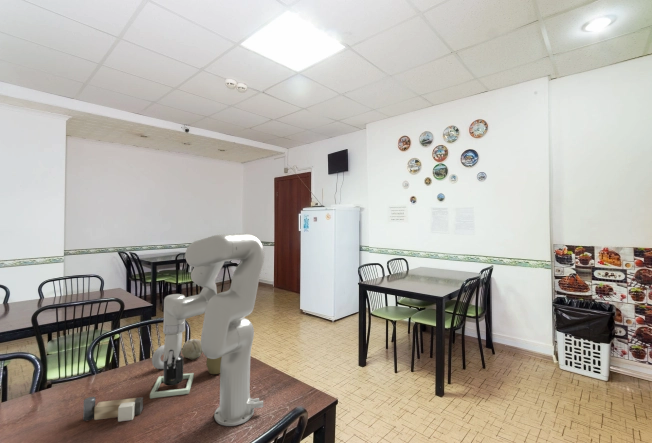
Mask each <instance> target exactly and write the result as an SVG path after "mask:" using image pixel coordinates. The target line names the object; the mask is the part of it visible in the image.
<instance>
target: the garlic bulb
mask: <svg viewBox="0 0 652 443" xmlns="http://www.w3.org/2000/svg"><path fill="white" fill-rule="evenodd" d="M202 354H203V351H202V348H201V339H199V338H198V339H197V338H194V339H193V338H190V339H189V340H186V341H185V342H184V343H183V344H182V350H181V356H182V357H183V359H184V358H185V359H189V360H191V361H192V360H193V361H194V360H196V359H198V358H199V357H201V355H202Z"/></svg>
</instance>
